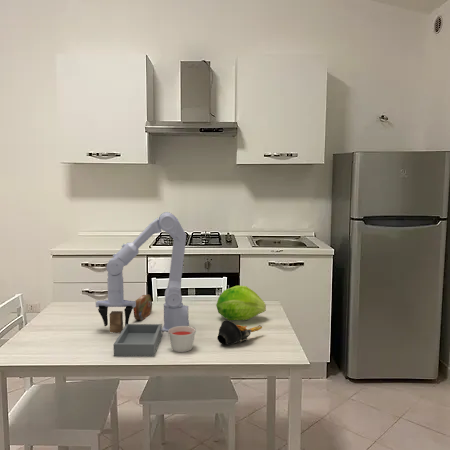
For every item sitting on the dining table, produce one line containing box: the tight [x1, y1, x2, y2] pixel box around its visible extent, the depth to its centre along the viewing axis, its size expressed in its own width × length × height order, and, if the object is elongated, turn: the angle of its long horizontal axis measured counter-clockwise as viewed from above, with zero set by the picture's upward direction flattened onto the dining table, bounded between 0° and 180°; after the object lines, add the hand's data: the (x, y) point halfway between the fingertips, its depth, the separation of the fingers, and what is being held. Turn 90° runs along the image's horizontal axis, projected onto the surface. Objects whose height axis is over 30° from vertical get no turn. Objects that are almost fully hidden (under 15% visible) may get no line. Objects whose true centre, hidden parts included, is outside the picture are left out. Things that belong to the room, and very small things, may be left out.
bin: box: [113, 323, 163, 357], centre depth 163 cm, size 13×20×4 cm, turn 0°
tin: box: [132, 294, 153, 321], centre depth 193 cm, size 15×3×8 cm, turn 168°
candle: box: [168, 325, 196, 353], centre depth 160 cm, size 9×9×6 cm
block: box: [108, 310, 124, 334], centre depth 176 cm, size 4×4×7 cm
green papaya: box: [215, 285, 267, 322], centre depth 190 cm, size 15×20×14 cm
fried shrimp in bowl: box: [216, 319, 263, 346], centre depth 167 cm, size 9×11×18 cm
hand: (116, 325), depth 176 cm, fingers open, 7 cm apart
